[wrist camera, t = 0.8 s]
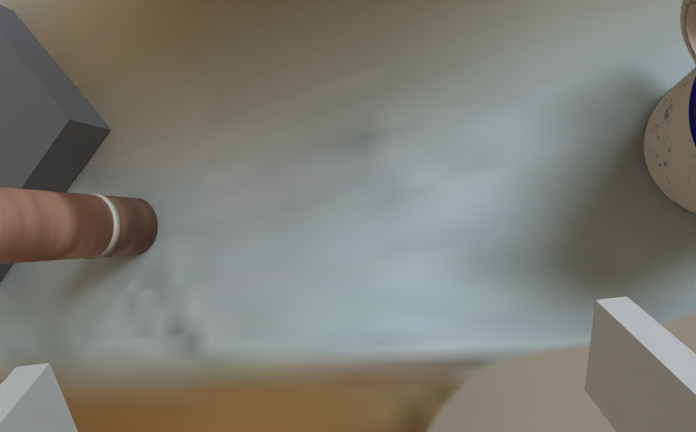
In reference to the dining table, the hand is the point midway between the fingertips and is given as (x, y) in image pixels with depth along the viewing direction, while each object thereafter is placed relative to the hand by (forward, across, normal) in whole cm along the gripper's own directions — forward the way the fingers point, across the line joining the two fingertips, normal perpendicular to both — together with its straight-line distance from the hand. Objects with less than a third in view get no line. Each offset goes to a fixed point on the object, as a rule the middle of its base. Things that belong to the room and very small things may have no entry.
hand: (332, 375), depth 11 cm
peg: (+28, -17, -6) cm, 33 cm away
